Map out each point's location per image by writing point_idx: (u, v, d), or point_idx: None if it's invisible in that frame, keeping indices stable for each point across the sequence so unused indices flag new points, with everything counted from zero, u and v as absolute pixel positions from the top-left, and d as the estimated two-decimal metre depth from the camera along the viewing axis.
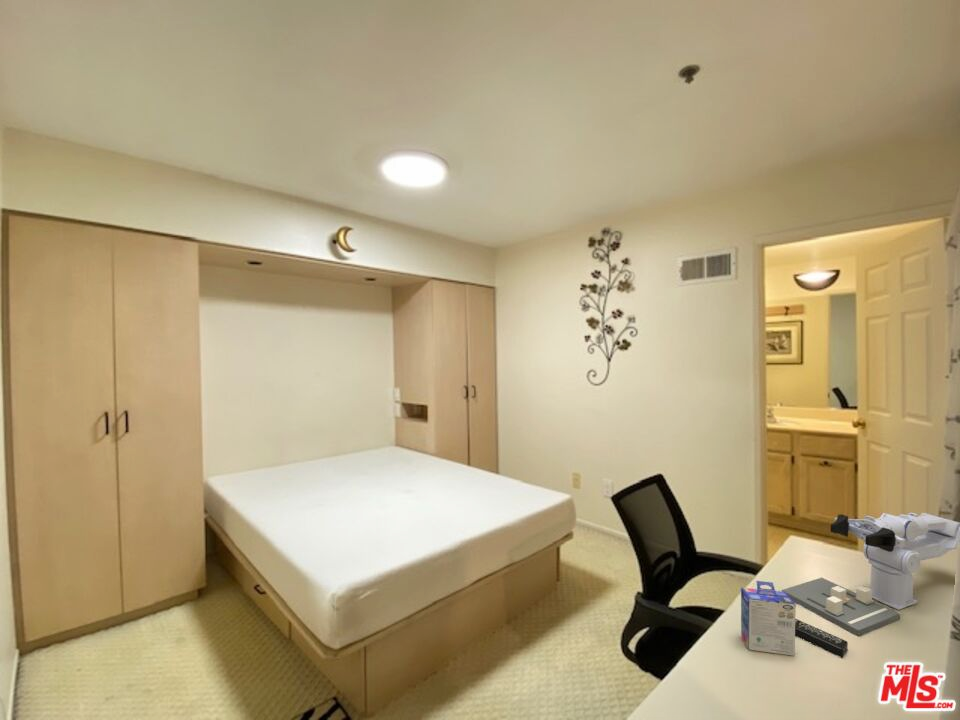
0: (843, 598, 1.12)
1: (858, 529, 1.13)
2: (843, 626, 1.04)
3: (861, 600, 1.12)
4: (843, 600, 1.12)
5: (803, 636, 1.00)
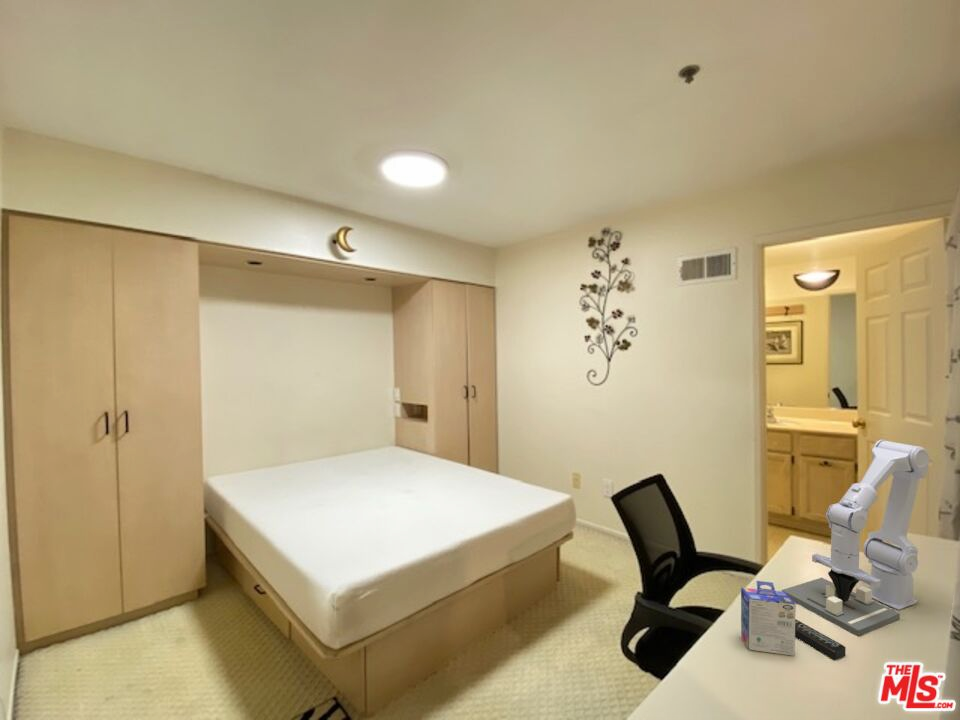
0: None
1: None
2: (843, 626, 1.04)
3: (861, 600, 1.12)
4: None
5: (799, 636, 1.00)
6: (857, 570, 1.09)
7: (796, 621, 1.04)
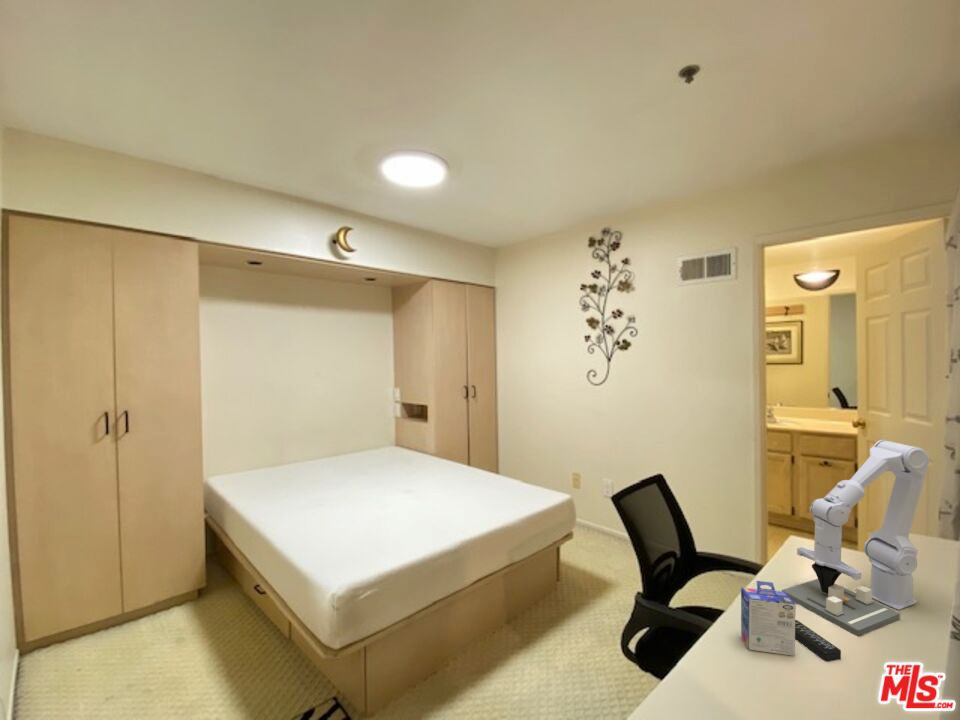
0: (841, 597, 1.13)
1: None
2: (843, 626, 1.04)
3: (861, 600, 1.12)
4: (841, 599, 1.13)
5: (795, 635, 1.00)
6: (839, 563, 1.13)
7: (797, 622, 1.03)
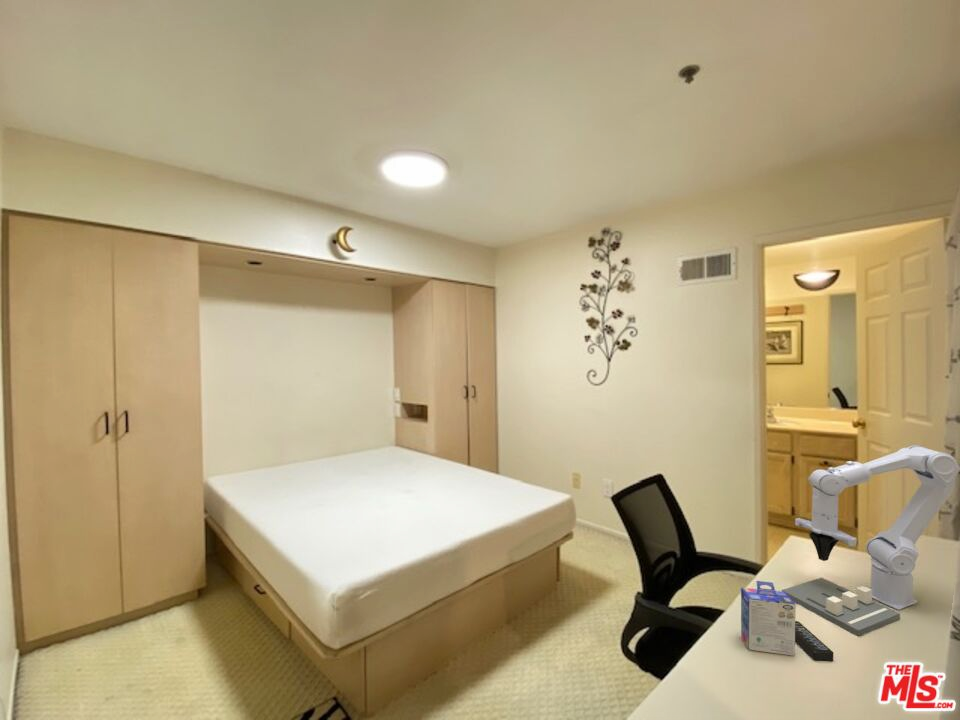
0: (855, 604, 1.10)
1: None
2: (843, 626, 1.04)
3: (861, 600, 1.12)
4: (855, 606, 1.10)
5: None
6: (836, 530, 1.17)
7: (797, 623, 1.03)
